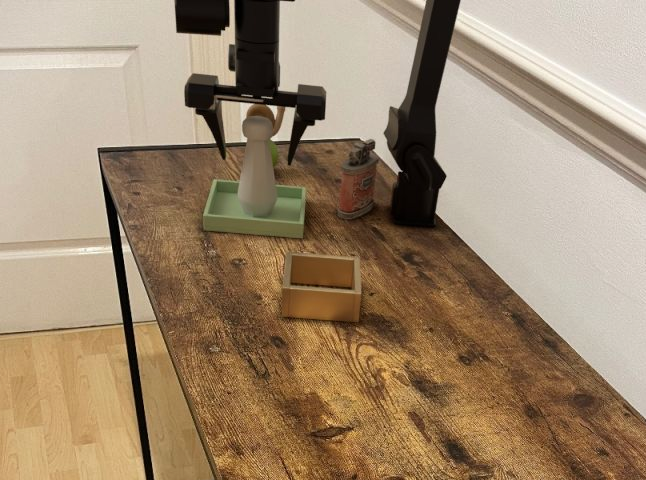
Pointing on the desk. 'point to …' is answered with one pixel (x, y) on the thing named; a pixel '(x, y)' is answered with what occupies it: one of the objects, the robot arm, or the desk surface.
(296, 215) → the tray
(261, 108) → the snail figurine
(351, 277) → the open brown box
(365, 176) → the lighter
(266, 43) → the robot arm
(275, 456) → the desk surface
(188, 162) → the desk surface
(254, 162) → the salt shaker
